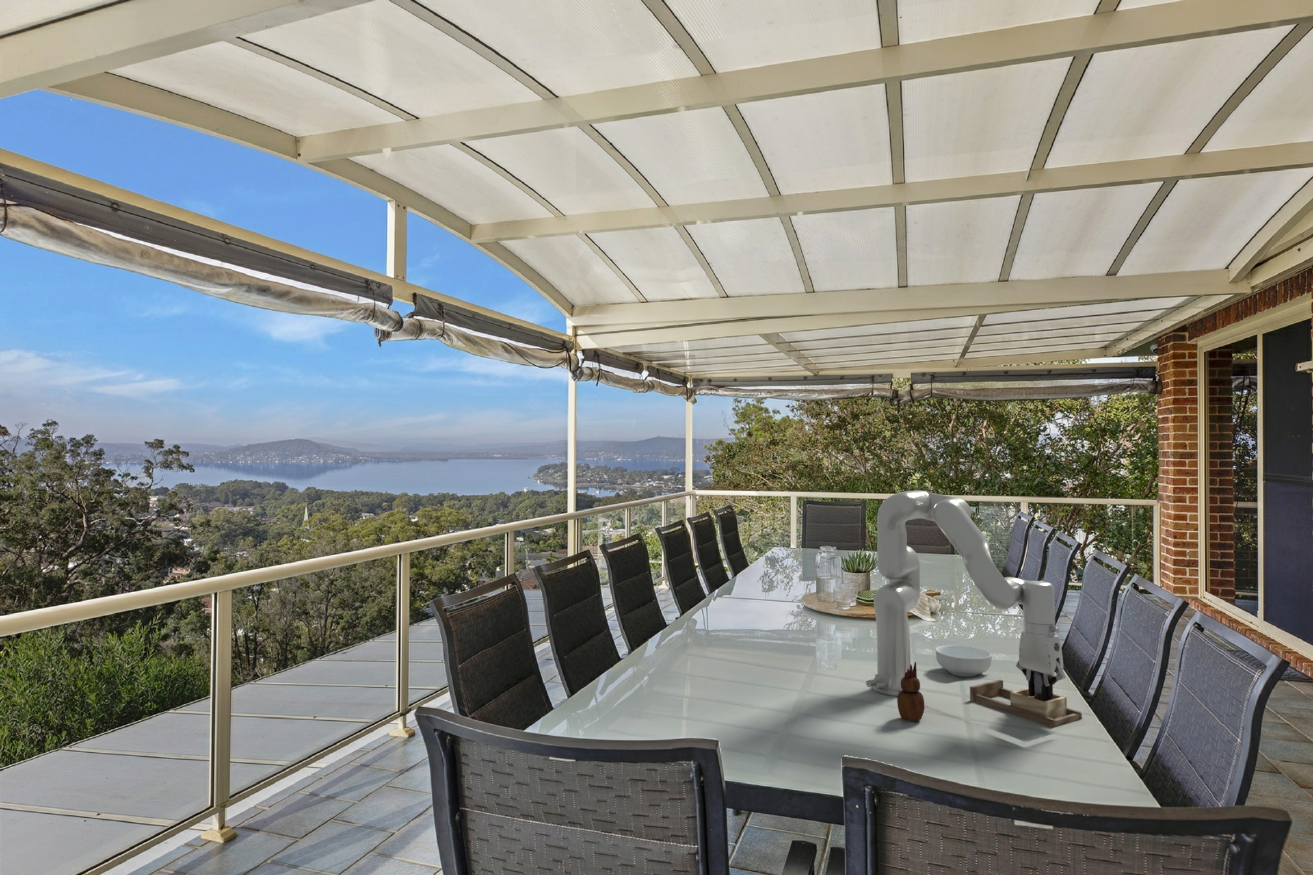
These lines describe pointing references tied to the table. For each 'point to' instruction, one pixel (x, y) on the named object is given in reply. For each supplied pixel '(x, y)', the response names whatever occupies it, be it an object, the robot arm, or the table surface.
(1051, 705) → the crate
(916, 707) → the wooden figurine
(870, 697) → the table surface
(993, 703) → the tray
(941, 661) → the cereal bowl
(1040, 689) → the handle peg
